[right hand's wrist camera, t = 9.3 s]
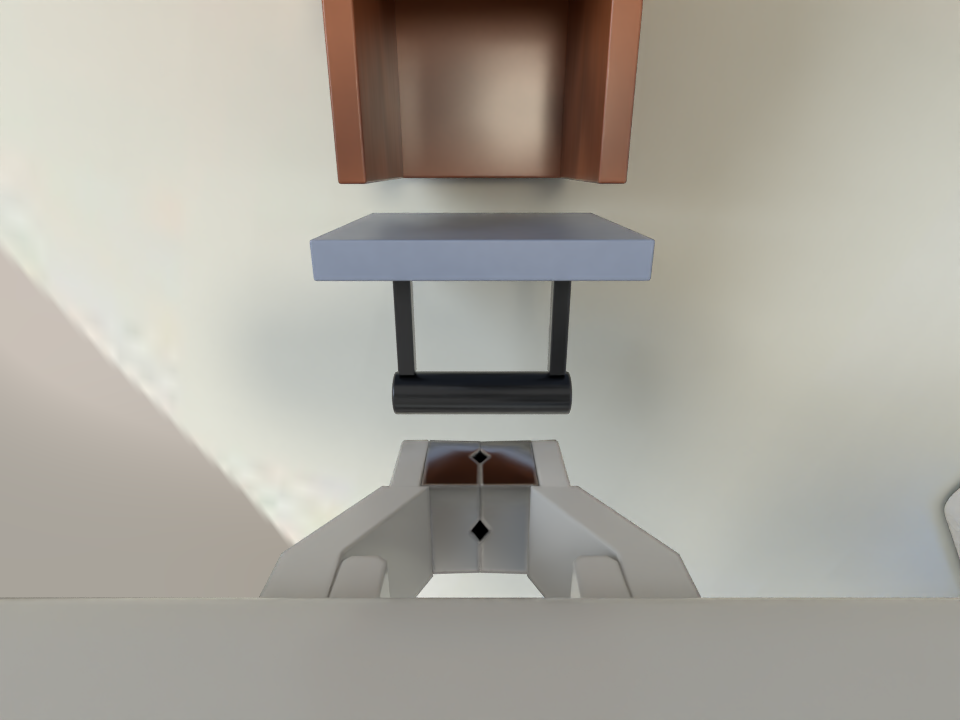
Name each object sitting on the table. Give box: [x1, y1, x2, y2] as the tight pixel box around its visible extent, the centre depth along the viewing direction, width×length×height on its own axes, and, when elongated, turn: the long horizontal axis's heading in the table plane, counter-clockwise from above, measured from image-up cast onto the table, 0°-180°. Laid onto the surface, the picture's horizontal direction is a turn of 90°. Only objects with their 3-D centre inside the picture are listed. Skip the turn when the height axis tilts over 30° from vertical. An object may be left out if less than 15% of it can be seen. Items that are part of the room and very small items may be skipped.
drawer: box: [310, 0, 655, 414], centre depth 17 cm, size 24×10×9 cm, turn 0°
